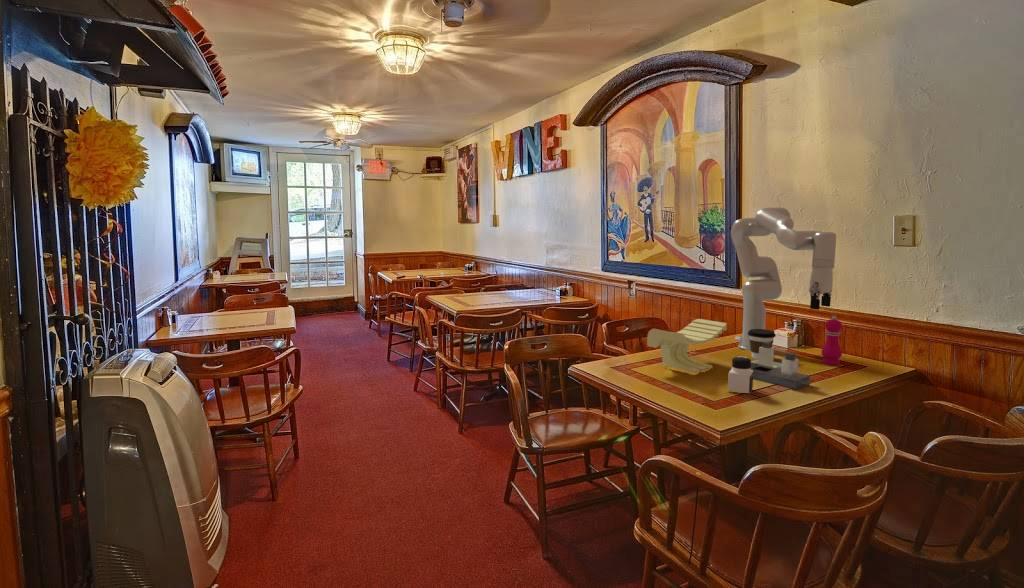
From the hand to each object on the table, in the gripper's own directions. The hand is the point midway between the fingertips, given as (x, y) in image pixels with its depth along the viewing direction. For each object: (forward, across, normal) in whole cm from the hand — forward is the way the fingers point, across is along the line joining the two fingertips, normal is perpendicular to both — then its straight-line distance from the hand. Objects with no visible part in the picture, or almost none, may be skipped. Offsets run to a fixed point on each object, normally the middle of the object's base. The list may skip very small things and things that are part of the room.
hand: (820, 307), depth 214 cm
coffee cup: (+25, +2, -22) cm, 33 cm away
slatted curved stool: (+25, +37, -34) cm, 56 cm away
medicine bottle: (+25, +47, -6) cm, 54 cm away
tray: (+25, +14, -14) cm, 31 cm away
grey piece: (+25, +27, -5) cm, 37 cm away
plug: (+24, +14, -14) cm, 31 cm away
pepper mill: (+25, -13, 0) cm, 28 cm away
